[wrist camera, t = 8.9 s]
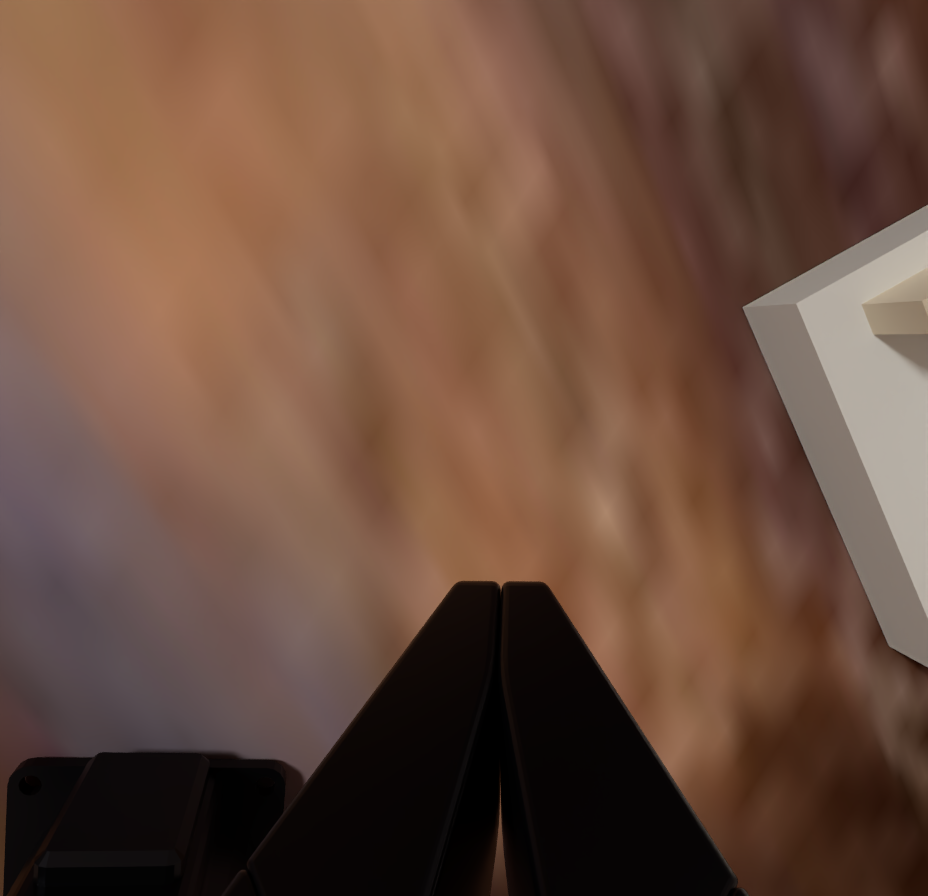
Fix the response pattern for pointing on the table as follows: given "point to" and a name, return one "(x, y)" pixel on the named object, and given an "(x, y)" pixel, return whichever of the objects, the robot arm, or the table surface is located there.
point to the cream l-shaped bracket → (864, 408)
